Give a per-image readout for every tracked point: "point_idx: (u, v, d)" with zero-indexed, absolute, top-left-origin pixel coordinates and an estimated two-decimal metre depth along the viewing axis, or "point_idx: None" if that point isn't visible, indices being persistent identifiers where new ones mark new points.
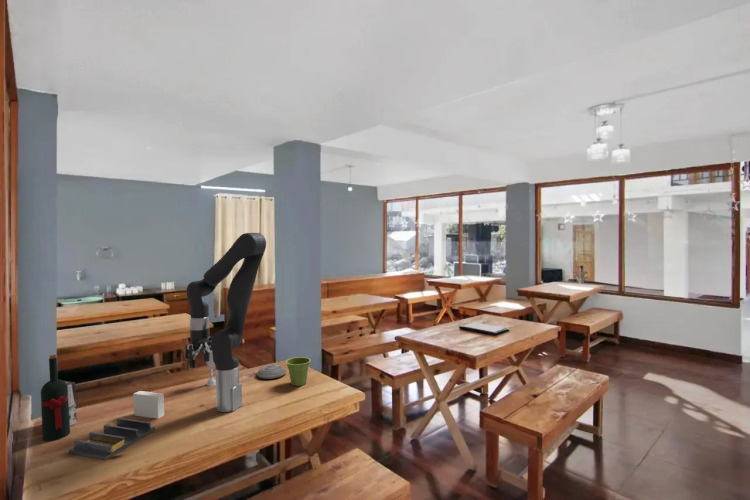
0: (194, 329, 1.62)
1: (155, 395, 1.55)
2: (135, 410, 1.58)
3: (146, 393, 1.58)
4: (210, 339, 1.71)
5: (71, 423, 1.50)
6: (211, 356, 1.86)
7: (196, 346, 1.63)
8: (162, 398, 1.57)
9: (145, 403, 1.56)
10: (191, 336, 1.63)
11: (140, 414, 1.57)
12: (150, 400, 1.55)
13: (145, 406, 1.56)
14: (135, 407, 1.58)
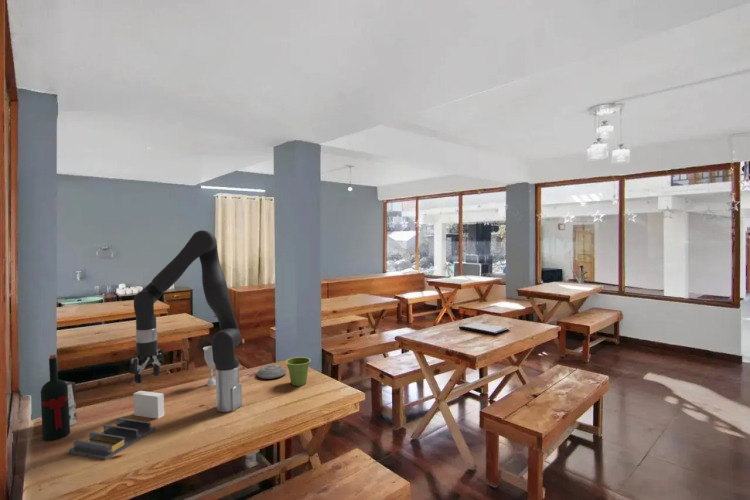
0: (139, 342, 1.53)
1: (155, 395, 1.55)
2: (135, 410, 1.58)
3: (146, 393, 1.58)
4: (160, 352, 1.62)
5: (71, 423, 1.50)
6: (211, 356, 1.86)
7: (142, 360, 1.54)
8: (162, 398, 1.57)
9: (145, 403, 1.56)
10: (137, 349, 1.54)
11: (140, 414, 1.57)
12: (150, 400, 1.55)
13: (145, 406, 1.56)
14: (135, 407, 1.58)
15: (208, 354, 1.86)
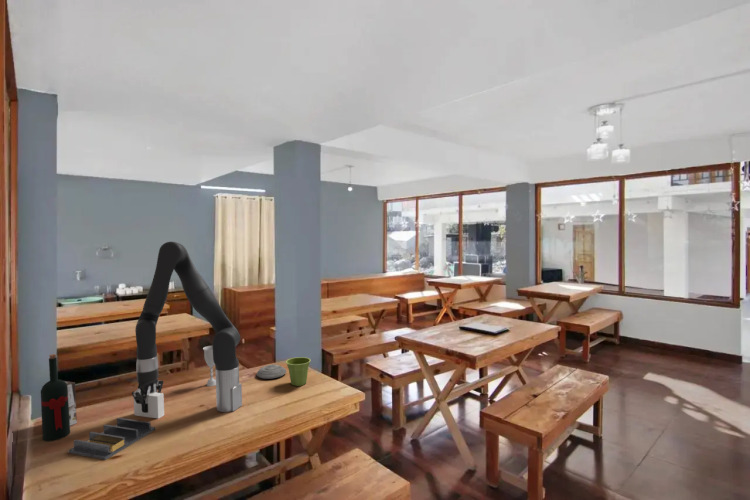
0: (140, 371, 1.53)
1: (155, 395, 1.55)
2: (135, 410, 1.58)
3: None
4: (160, 382, 1.62)
5: (71, 423, 1.50)
6: (211, 356, 1.86)
7: (144, 391, 1.54)
8: (162, 398, 1.57)
9: None
10: (138, 378, 1.54)
11: (140, 414, 1.57)
12: (150, 400, 1.55)
13: None
14: (135, 407, 1.58)
15: (208, 354, 1.86)
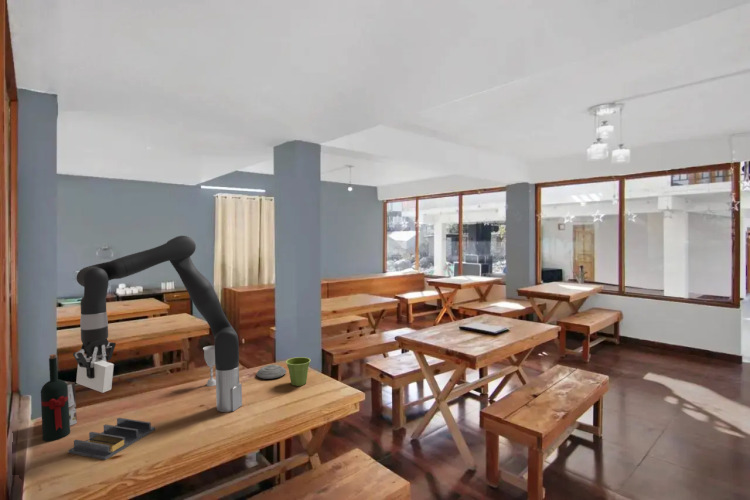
0: (84, 328, 1.28)
1: (103, 365, 1.30)
2: (78, 377, 1.33)
3: None
4: (111, 345, 1.37)
5: (71, 423, 1.50)
6: (211, 356, 1.86)
7: (89, 352, 1.29)
8: (111, 369, 1.32)
9: None
10: (81, 337, 1.29)
11: (83, 383, 1.32)
12: (97, 370, 1.30)
13: None
14: (78, 374, 1.33)
15: (208, 354, 1.86)
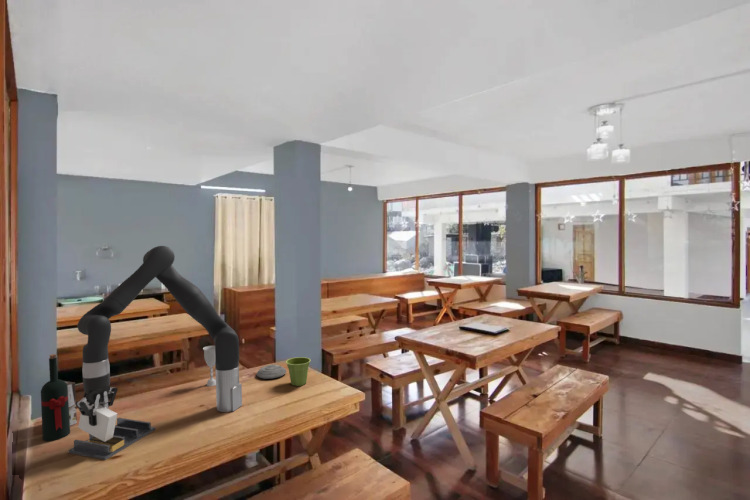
0: (86, 377, 1.29)
1: (107, 415, 1.30)
2: (80, 423, 1.33)
3: None
4: (113, 390, 1.38)
5: (71, 423, 1.50)
6: (211, 356, 1.86)
7: (91, 400, 1.29)
8: (114, 418, 1.32)
9: None
10: (84, 385, 1.29)
11: (85, 429, 1.33)
12: (100, 419, 1.31)
13: None
14: (81, 419, 1.33)
15: (208, 354, 1.86)
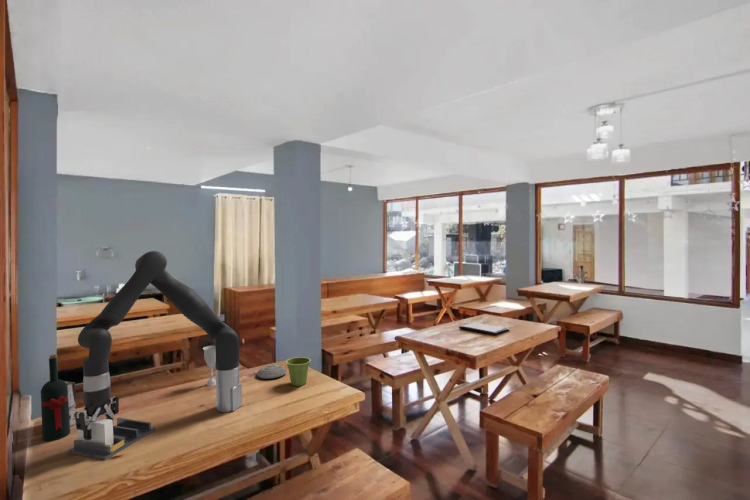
0: (87, 390, 1.29)
1: (102, 423, 1.31)
2: (79, 439, 1.33)
3: None
4: (115, 399, 1.38)
5: (71, 423, 1.50)
6: (211, 356, 1.86)
7: (91, 412, 1.29)
8: (111, 425, 1.32)
9: None
10: (84, 399, 1.30)
11: None
12: (96, 428, 1.31)
13: None
14: (79, 436, 1.33)
15: (208, 354, 1.86)
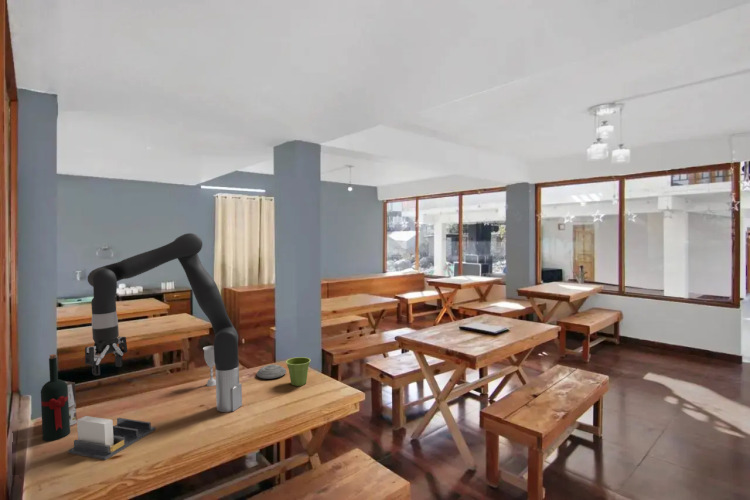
0: (96, 327, 1.33)
1: (102, 423, 1.31)
2: (79, 439, 1.33)
3: (92, 419, 1.33)
4: (122, 339, 1.42)
5: (71, 423, 1.50)
6: (211, 356, 1.86)
7: (100, 348, 1.34)
8: (111, 425, 1.32)
9: (91, 431, 1.32)
10: (93, 336, 1.34)
11: None
12: (96, 428, 1.31)
13: (90, 435, 1.32)
14: (79, 436, 1.33)
15: (208, 354, 1.86)
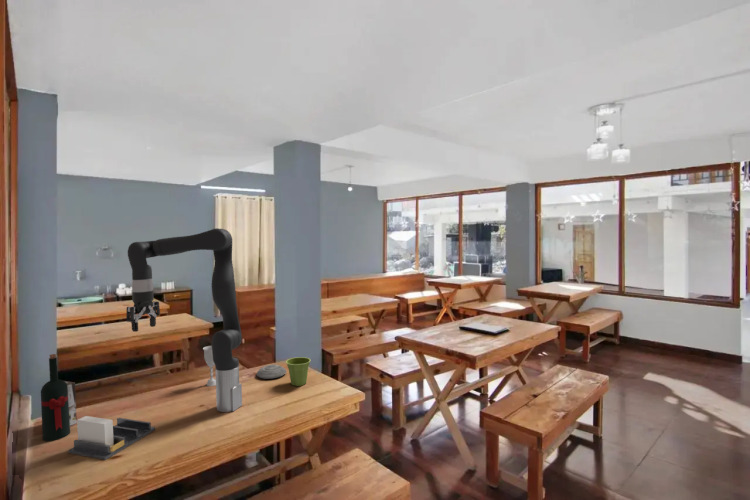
0: (136, 291, 1.57)
1: (102, 423, 1.31)
2: (79, 439, 1.33)
3: (92, 419, 1.33)
4: (156, 303, 1.66)
5: (71, 423, 1.50)
6: (211, 356, 1.86)
7: (138, 309, 1.58)
8: (111, 425, 1.32)
9: (91, 431, 1.32)
10: (133, 299, 1.58)
11: None
12: (96, 428, 1.31)
13: (90, 435, 1.32)
14: (79, 436, 1.33)
15: (208, 354, 1.86)
